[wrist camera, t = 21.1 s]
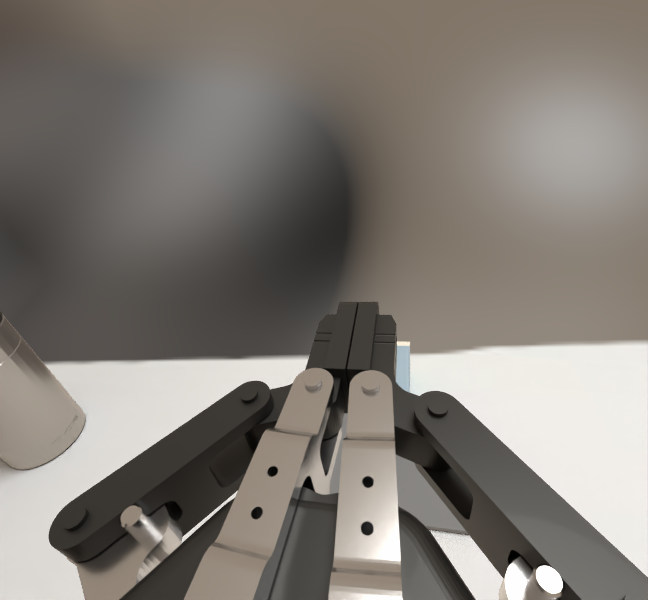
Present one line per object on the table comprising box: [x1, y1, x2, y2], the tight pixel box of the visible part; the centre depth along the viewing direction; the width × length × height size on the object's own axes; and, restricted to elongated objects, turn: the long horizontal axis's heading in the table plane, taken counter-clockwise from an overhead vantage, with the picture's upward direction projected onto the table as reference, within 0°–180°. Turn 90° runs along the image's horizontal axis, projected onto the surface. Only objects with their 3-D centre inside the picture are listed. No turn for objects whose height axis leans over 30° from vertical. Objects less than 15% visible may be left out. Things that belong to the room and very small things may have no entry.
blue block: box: [396, 342, 410, 393], centre depth 44 cm, size 4×4×12 cm
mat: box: [330, 413, 469, 535], centre depth 39 cm, size 14×12×1 cm
